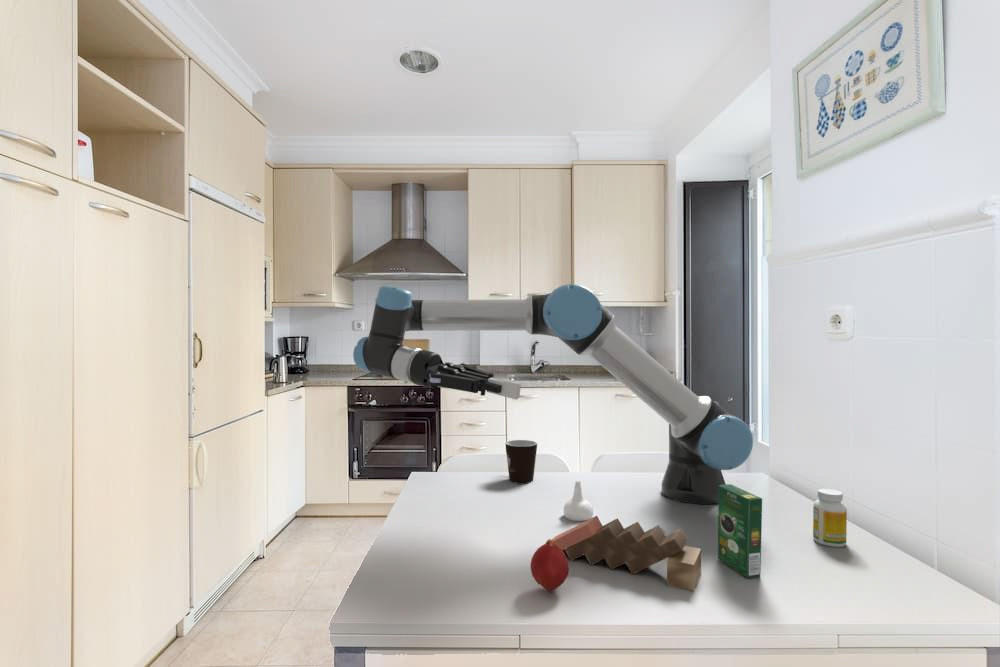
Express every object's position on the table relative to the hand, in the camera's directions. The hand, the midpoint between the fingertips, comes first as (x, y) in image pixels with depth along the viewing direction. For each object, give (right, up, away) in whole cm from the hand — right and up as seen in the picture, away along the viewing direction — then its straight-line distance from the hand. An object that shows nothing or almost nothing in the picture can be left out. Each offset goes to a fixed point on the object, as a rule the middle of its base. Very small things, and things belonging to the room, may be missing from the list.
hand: (518, 392), depth 103 cm
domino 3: (+13, -27, -10) cm, 32 cm away
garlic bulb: (+13, -28, +11) cm, 33 cm away
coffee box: (+37, -28, -14) cm, 48 cm away
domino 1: (+6, -27, -7) cm, 29 cm away
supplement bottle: (+59, -28, -3) cm, 65 cm away
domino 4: (+16, -27, -12) cm, 34 cm away
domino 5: (+19, -27, -14) cm, 36 cm away
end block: (+26, -28, -18) cm, 42 cm away
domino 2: (+9, -27, -9) cm, 30 cm away
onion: (+4, -28, -22) cm, 36 cm away
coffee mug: (+2, -28, +42) cm, 50 cm away
